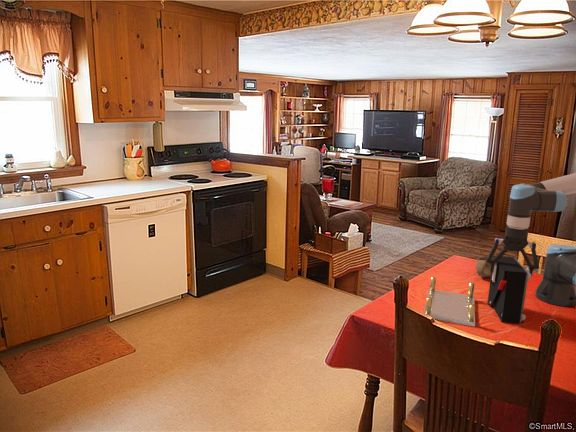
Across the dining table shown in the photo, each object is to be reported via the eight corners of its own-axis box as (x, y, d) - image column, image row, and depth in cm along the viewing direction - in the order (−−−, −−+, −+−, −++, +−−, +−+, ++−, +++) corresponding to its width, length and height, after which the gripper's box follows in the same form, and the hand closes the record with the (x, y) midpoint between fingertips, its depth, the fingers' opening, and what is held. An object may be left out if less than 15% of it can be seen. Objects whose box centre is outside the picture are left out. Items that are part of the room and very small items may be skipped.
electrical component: (525, 324, 164) (533, 273, 160) (496, 321, 166) (502, 270, 162) (512, 304, 181) (519, 257, 177) (485, 302, 183) (491, 255, 178)
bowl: (503, 283, 200) (499, 261, 200) (471, 283, 209) (467, 263, 209) (513, 272, 214) (509, 251, 213) (482, 273, 223) (478, 253, 222)
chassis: (473, 299, 186) (475, 282, 184) (474, 326, 162) (477, 307, 160) (428, 292, 192) (430, 275, 190) (422, 317, 168) (424, 298, 167)
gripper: (551, 227, 165) (541, 284, 170) (483, 221, 173) (476, 275, 178) (554, 232, 158) (544, 291, 163) (484, 225, 166) (476, 281, 172)
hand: (509, 282), depth 171 cm, fingers closed on electrical component, 10 cm apart
